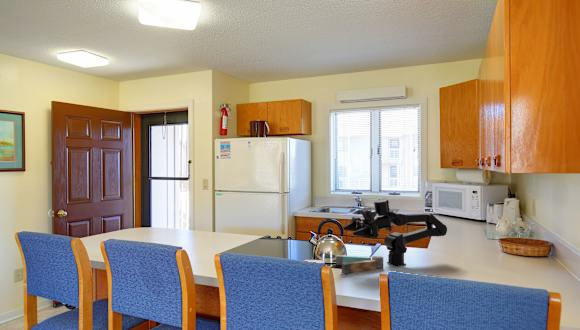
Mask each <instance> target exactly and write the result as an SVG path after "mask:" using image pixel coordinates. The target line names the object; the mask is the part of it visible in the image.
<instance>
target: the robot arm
mask: <svg viewBox="0 0 580 330" xmlns="http://www.w3.org/2000/svg"><path fill="white" fill-rule="evenodd" d="M373 204H374V205H373V207H374V210H372V209H371V208H369V207H363V208H362V209H360V211H359V213H360V214H361V215H362V217H363V218H362V219H361V218H360V217H358V216H352V217H351V221H350V222H349V223H348V224H346V225H345V226H344V227H342V229H343V231H350V232H352V235H353V236H357V237H364V238H367V239H373V240H375V239H378V237H379V232H380V230H383V229H385V231H387V232H392V229H393V226H395V227H396V226H397V227H402V226H405V225H407V224H410V223H412V224H413V223H425V228H421V229H417V230H413V231H410V232H406V233H401V232H396V231H394V232H392V233H388V234H387V235H386V236H385V237H384V240H383V243H384V246H385V247H386V249H387V250H388V261H387V262H386V264H388V265H391V266H393V267H400V266H406V265H407V263H405V257H404V256H405V254H406V253H407V251H408V248H407V247H406V245H407V244H410V243H413V242H416V241H421V240H422V239H426V238H429V237H444V236H446V235H447V232H448V227H447V225H446V224H444V223H443V222H442V221H441V220H440V219H438V218H437V217H436V216H435V215H434V214H432V213H428V212H423V213H409V214H408V213H407V214H405V213H398V212H393V211H390V202H389V199H380V200H379V199H378V200H374V201H373ZM377 215H378V216H377ZM376 216H377V217H376ZM392 225H393V226H392Z"/></svg>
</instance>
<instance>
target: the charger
mask: <svg viewBox="0 0 580 330" xmlns="http://www.w3.org/2000/svg"><path fill="white" fill-rule="evenodd" d="M304 261H308V262H316V263H324V264H325V261H324V260H321V259H304V260H303V262H304Z"/></svg>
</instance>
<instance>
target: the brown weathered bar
mask: <svg viewBox="0 0 580 330" xmlns="http://www.w3.org/2000/svg"><path fill="white" fill-rule="evenodd" d="M335 257H336V258H335V259H336V260H335V265H336V264H337V266H342V263H346V262H348V263H349V262H357V261H366V260H372V256H362V255H348V254H347V255H345V254H344V255H343V254H336V256H335Z"/></svg>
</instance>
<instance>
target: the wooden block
mask: <svg viewBox="0 0 580 330" xmlns="http://www.w3.org/2000/svg"><path fill="white" fill-rule="evenodd" d="M383 269H384V257H383V256H380V255H373V256H371V260H366V261H357V262H349V263H348V262H346V263H342V265H341V274H342V275H345V276H347V275H352V274H361V273H368V272H375V271H379V270H383Z"/></svg>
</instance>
